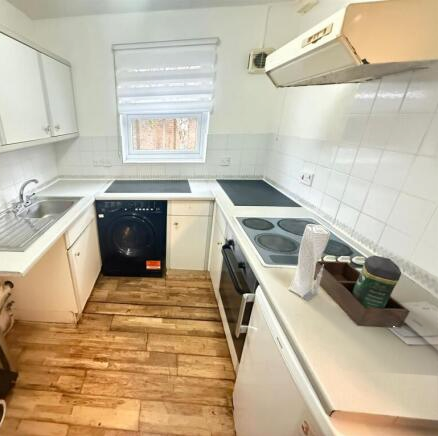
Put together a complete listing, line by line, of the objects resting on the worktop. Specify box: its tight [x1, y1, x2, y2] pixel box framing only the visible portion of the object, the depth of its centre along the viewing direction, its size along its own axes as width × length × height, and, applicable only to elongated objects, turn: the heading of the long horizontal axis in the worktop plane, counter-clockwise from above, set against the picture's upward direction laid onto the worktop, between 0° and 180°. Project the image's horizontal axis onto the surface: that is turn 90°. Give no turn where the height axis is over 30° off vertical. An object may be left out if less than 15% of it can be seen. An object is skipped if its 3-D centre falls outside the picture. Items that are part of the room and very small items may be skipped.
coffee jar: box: [351, 254, 402, 308], centre depth 76 cm, size 10×8×19 cm
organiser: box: [313, 260, 411, 328], centre depth 84 cm, size 13×26×7 cm, turn 176°
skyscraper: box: [288, 223, 331, 302], centre depth 83 cm, size 8×8×28 cm
